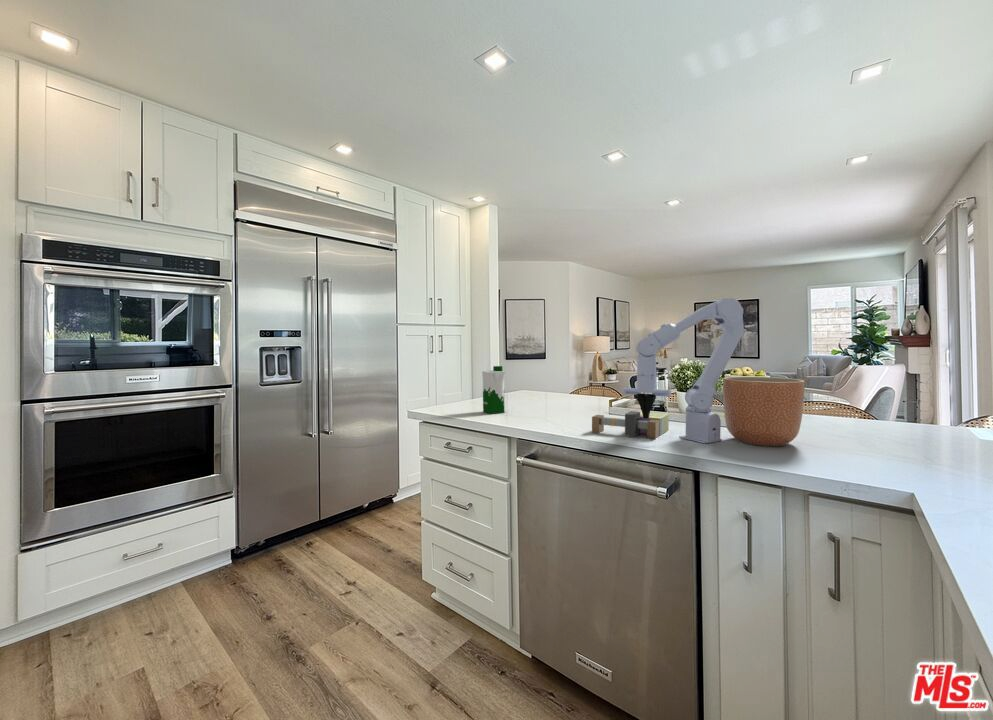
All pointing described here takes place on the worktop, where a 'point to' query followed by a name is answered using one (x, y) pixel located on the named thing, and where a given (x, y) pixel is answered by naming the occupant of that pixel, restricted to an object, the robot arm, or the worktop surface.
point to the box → (662, 421)
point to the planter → (763, 409)
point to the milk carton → (493, 390)
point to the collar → (631, 423)
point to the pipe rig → (600, 421)
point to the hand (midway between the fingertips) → (646, 418)
